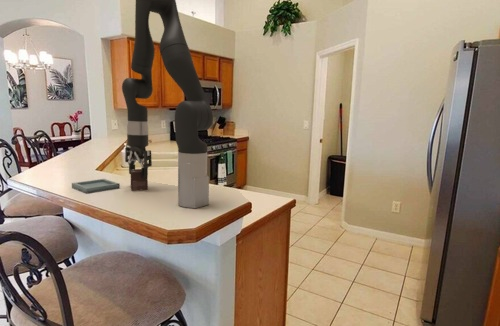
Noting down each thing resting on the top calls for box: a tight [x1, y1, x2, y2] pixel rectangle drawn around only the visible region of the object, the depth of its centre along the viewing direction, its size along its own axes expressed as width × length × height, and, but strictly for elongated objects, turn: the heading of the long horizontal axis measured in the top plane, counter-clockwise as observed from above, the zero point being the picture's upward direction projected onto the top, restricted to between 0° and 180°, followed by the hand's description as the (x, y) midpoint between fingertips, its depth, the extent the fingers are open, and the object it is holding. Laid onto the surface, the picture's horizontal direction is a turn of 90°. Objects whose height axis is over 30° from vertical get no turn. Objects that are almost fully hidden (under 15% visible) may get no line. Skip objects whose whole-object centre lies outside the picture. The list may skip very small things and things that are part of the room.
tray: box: [71, 178, 121, 194], centre depth 120 cm, size 12×12×2 cm
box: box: [129, 168, 149, 192], centre depth 120 cm, size 6×6×7 cm
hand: (138, 175), depth 120 cm, fingers open, 8 cm apart
